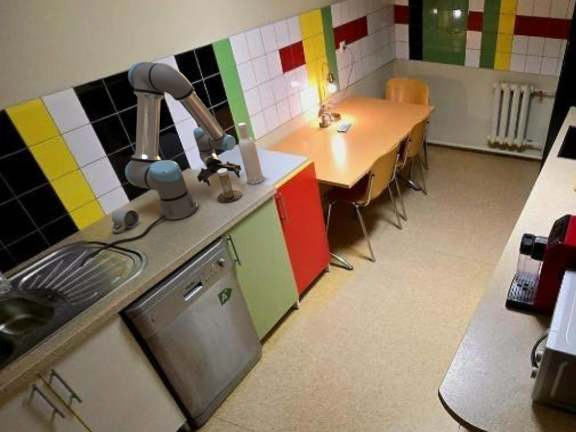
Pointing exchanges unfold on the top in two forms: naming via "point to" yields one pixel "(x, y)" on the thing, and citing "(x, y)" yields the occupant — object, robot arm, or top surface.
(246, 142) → the bottle
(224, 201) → the disc
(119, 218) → the ceramic mug
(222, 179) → the sprinkles bottle
